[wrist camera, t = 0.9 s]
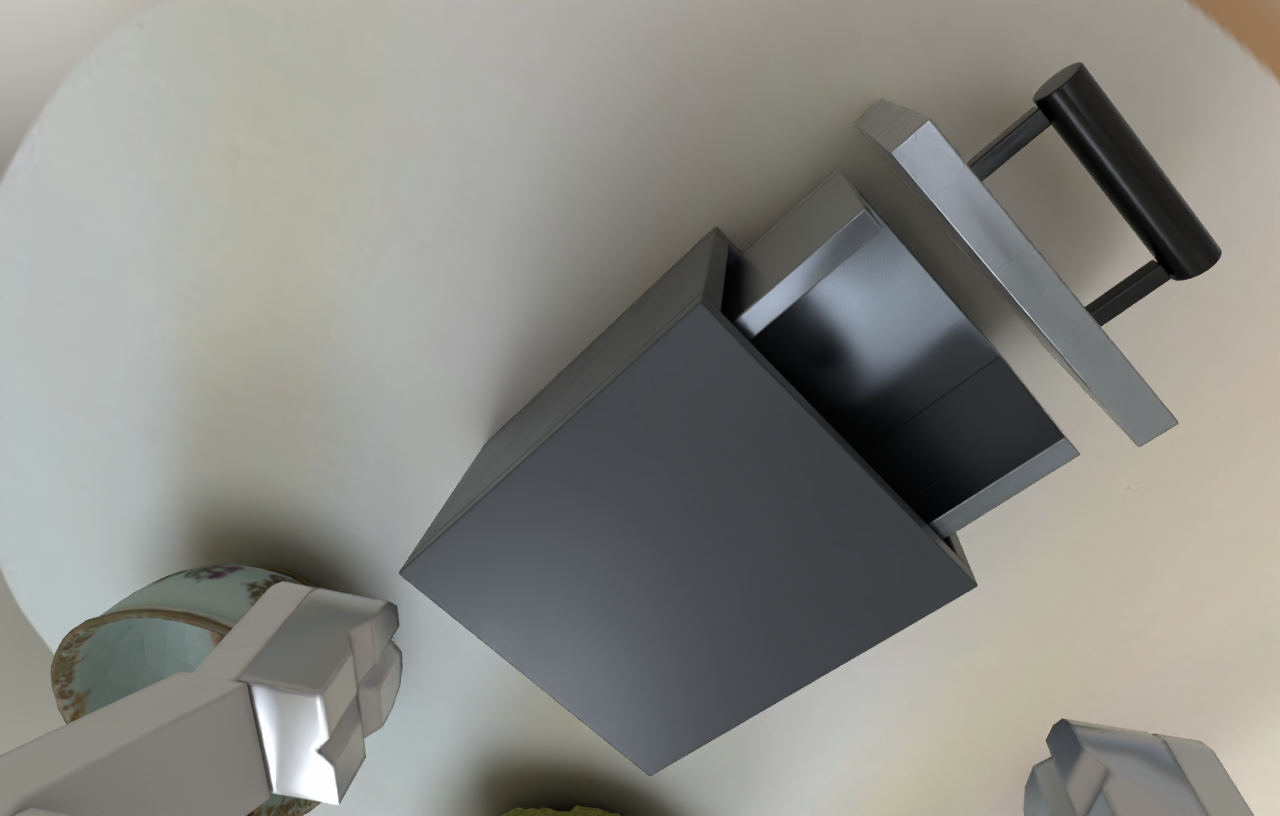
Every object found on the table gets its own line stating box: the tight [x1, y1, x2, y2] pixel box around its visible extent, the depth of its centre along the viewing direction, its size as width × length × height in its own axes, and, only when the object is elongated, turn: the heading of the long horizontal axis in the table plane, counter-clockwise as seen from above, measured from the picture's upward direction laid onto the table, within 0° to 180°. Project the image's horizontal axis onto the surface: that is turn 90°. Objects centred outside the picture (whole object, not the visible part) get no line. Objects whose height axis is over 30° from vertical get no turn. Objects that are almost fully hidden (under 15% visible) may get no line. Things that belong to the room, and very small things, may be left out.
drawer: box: [721, 62, 1222, 540], centre depth 25 cm, size 17×11×8 cm, turn 135°
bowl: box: [51, 565, 321, 816], centre depth 38 cm, size 14×13×8 cm
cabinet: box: [399, 227, 977, 776], centre depth 29 cm, size 15×13×10 cm
